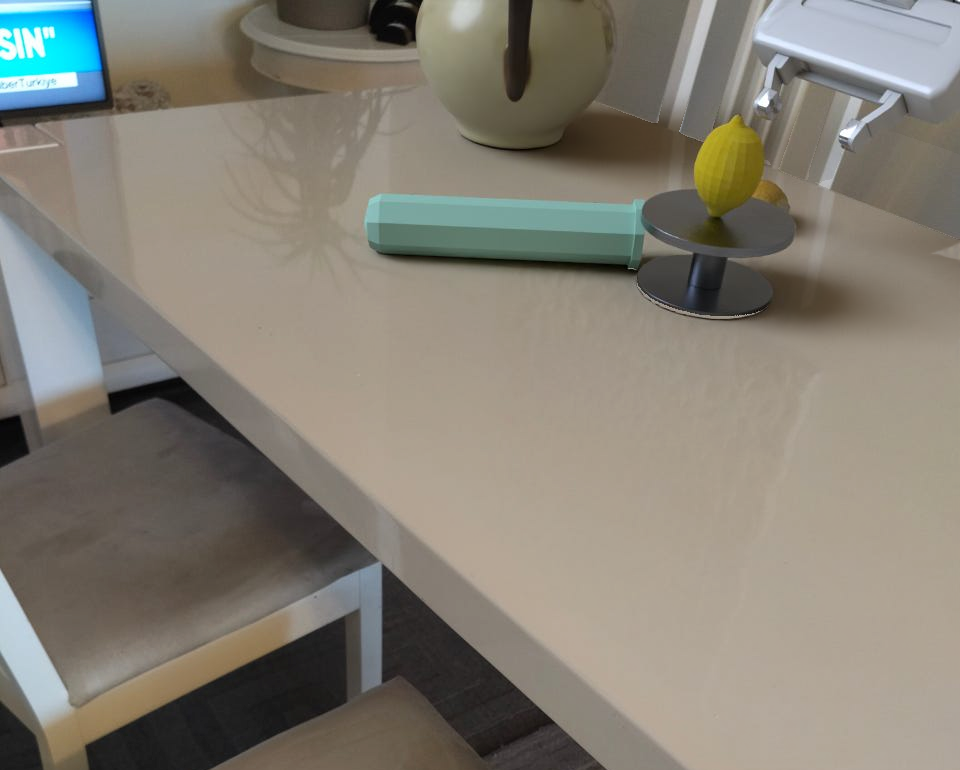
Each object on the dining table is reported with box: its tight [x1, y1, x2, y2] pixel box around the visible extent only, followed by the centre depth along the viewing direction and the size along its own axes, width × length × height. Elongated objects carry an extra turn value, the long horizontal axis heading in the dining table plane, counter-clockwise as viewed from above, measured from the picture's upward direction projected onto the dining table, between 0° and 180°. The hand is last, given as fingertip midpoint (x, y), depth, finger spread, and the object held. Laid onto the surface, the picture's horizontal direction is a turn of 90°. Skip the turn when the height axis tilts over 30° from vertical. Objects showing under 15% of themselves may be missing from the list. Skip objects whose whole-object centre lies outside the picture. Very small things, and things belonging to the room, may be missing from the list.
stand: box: [636, 188, 797, 316], centre depth 85 cm, size 13×13×6 cm
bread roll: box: [751, 178, 791, 215], centre depth 98 cm, size 8×9×4 cm
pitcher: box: [415, 0, 618, 150], centre depth 106 cm, size 22×24×25 cm
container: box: [363, 192, 646, 270], centre depth 88 cm, size 6×6×25 cm
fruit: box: [693, 113, 765, 217], centre depth 80 cm, size 6×6×8 cm
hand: (802, 129), depth 82 cm, fingers open, 8 cm apart
